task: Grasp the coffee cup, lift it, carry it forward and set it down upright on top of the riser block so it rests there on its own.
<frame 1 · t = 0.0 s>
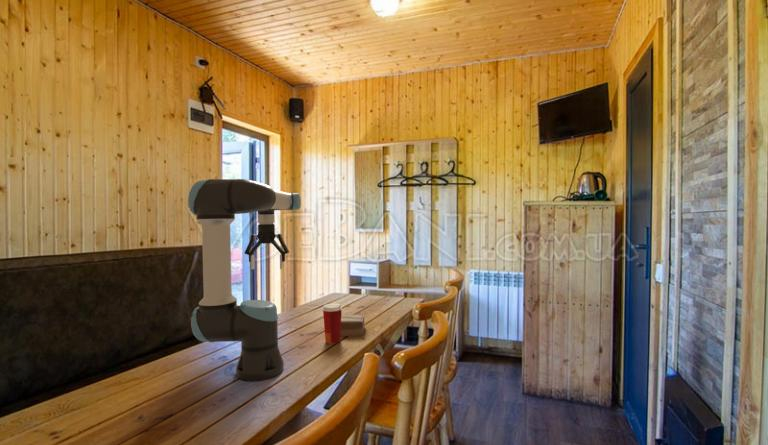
hand: (267, 268, 172), 28 cm above the table, fingers open, 13 cm apart
coffee cup: (332, 342, 151), on the table
riser: (350, 331, 164), on the table
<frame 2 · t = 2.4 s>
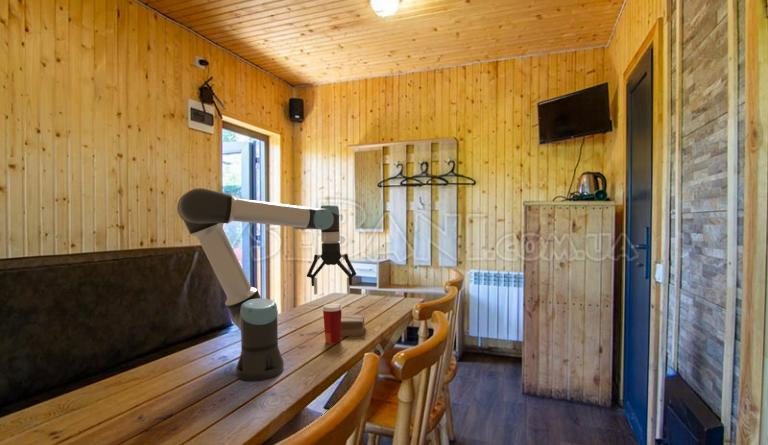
hand: (332, 293, 151), 20 cm above the table, fingers open, 13 cm apart
nothing on the table moved.
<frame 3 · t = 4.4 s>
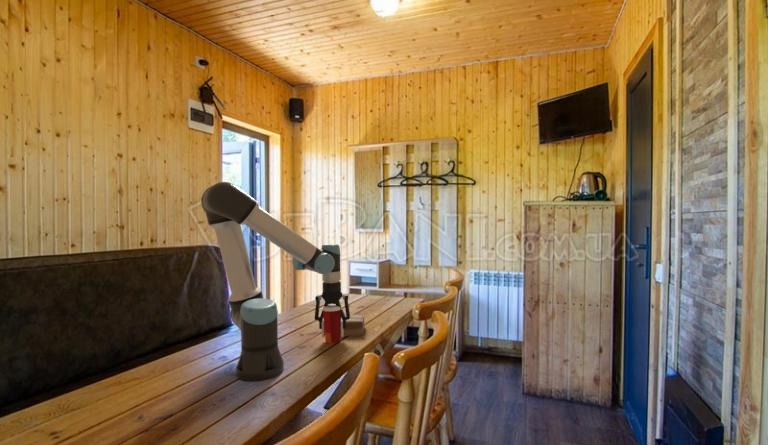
hand: (332, 336, 151), 2 cm above the table, fingers closed on coffee cup, 7 cm apart
coffee cup: (332, 341, 151), on the table, touching gripper
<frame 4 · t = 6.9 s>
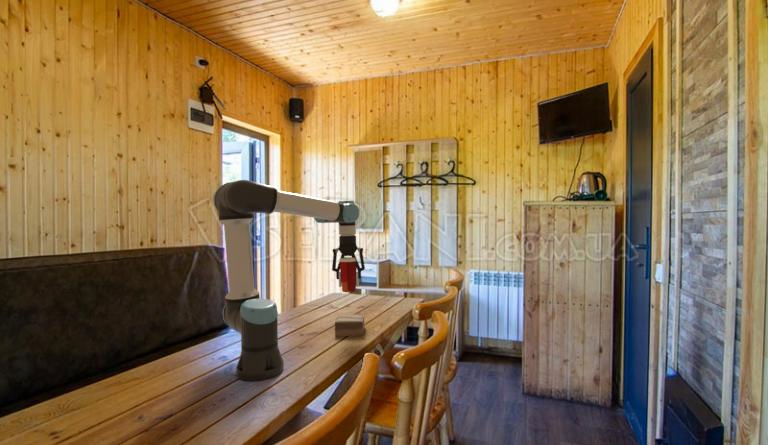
hand: (349, 286, 163), 21 cm above the table, fingers closed on coffee cup, 7 cm apart
coffee cup: (348, 291, 163), point 18 cm above the table, touching gripper
when the fingers open (10 cm above the table, at t = 9.4 s): coffee cup drops 1 cm, resting on riser.
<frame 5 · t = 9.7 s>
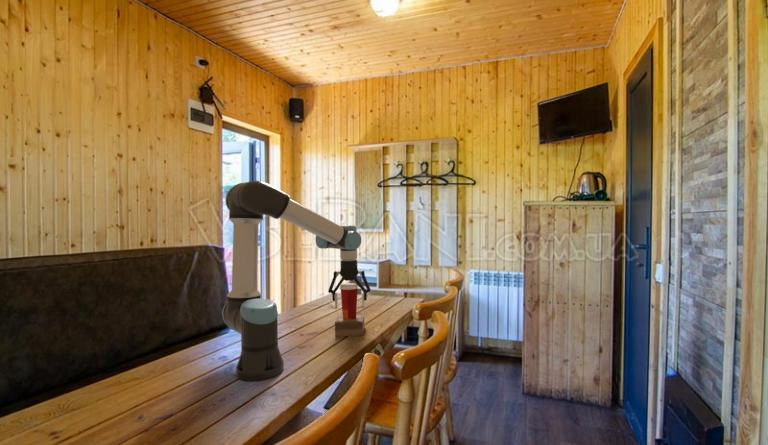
hand: (349, 307, 164), 11 cm above the table, fingers open, 11 cm apart
coffee cup: (349, 318, 164), point 6 cm above the table, touching riser
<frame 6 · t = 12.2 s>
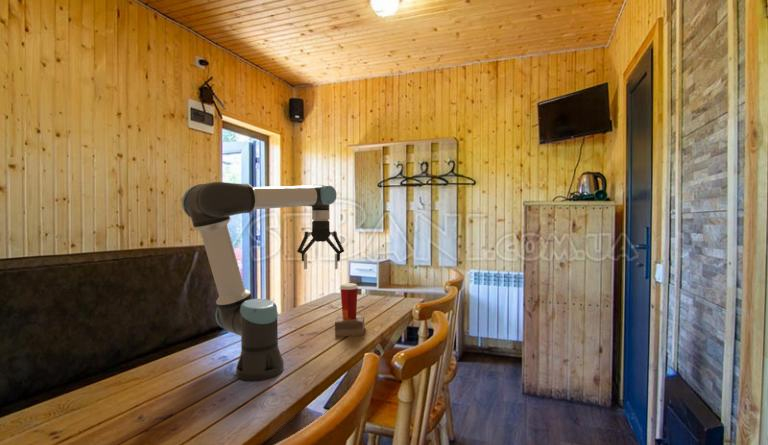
hand: (320, 268, 160), 29 cm above the table, fingers open, 13 cm apart
nothing on the table moved.
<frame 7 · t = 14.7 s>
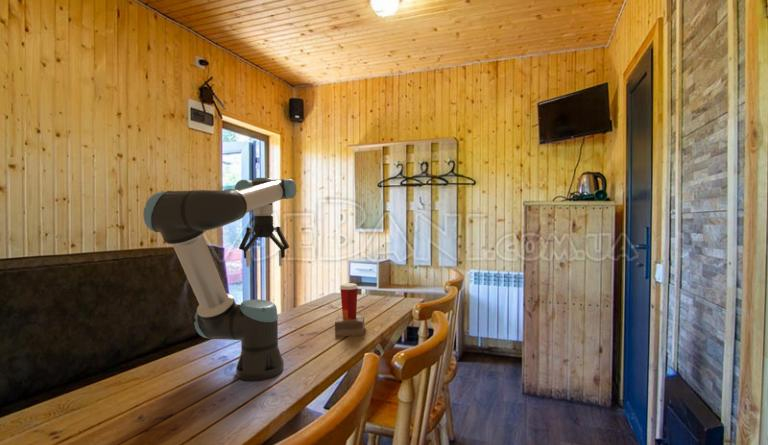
hand: (264, 266, 152), 32 cm above the table, fingers open, 13 cm apart
nothing on the table moved.
at the end: coffee cup inside the target area on the riser (0.3 cm from its centre), point 6.0 cm above the riser's base; coffee cup tilted 0°; the gripper is holding nothing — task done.
